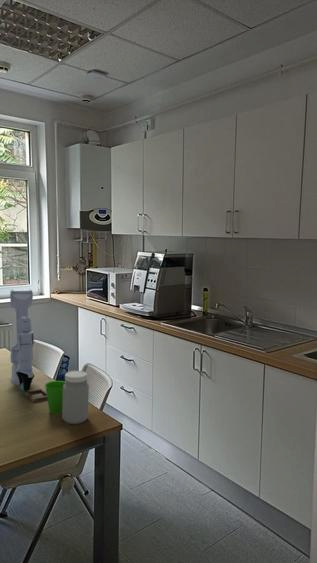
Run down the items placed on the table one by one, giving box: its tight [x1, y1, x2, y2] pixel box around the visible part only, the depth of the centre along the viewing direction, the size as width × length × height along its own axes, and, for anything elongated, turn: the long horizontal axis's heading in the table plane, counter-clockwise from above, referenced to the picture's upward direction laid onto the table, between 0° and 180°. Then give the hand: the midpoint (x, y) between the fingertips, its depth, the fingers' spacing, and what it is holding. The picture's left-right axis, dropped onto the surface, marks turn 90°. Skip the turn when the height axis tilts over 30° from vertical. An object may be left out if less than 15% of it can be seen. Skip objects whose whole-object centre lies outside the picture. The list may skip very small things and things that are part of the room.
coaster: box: [18, 389, 31, 395], centre depth 183 cm, size 5×5×1 cm
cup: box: [44, 380, 65, 415], centre depth 164 cm, size 9×9×11 cm
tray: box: [23, 388, 48, 404], centre depth 177 cm, size 10×8×2 cm
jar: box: [61, 370, 90, 425], centre depth 157 cm, size 10×10×18 cm
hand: (24, 388), depth 183 cm, fingers closed on ball, 4 cm apart
